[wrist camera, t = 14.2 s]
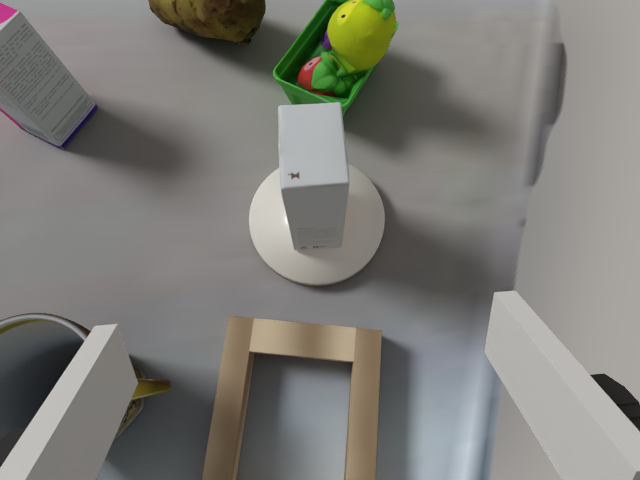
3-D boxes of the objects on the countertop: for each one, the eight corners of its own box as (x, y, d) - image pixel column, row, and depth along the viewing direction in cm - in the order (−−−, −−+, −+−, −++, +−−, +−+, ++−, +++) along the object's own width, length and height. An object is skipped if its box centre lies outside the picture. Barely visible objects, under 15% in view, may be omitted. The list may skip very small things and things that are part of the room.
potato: (208, -18, 47) (186, -94, 39) (284, 44, 44) (275, -25, 36) (150, 22, 45) (115, -50, 38) (225, 90, 42) (203, 26, 35)
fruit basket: (329, 33, 44) (331, -77, 34) (403, 64, 43) (429, -40, 32) (275, 111, 41) (257, 17, 31) (353, 148, 40) (363, 62, 29)
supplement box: (101, 106, 42) (21, 10, 31) (63, 151, 40) (-34, 66, 29) (56, 85, 43) (-36, -16, 32) (18, 128, 41) (-93, 38, 30)
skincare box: (343, 248, 35) (351, 186, 24) (293, 251, 35) (278, 190, 24) (337, 184, 37) (342, 99, 26) (290, 187, 37) (274, 103, 26)
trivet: (241, 279, 36) (239, 276, 34) (261, 158, 39) (259, 152, 38) (380, 292, 35) (381, 289, 34) (385, 168, 39) (387, 161, 38)
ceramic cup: (34, 471, 31) (-94, 511, 22) (50, 337, 34) (-56, 321, 25) (205, 453, 31) (153, 485, 22) (204, 321, 34) (158, 299, 25)
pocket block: (202, 527, 30) (191, 540, 27) (235, 320, 34) (228, 315, 32) (367, 547, 29) (371, 562, 27) (378, 333, 34) (381, 330, 32)
